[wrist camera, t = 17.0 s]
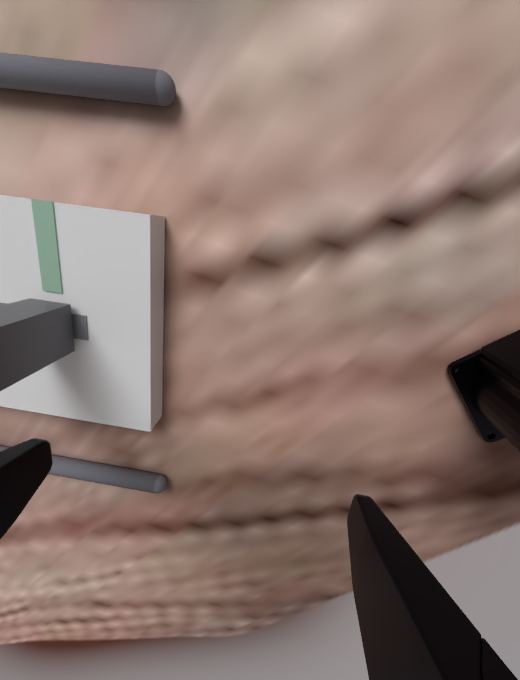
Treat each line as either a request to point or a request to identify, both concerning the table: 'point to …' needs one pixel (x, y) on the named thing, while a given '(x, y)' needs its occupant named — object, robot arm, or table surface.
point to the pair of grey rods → (108, 86)
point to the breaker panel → (90, 307)
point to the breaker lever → (32, 337)
